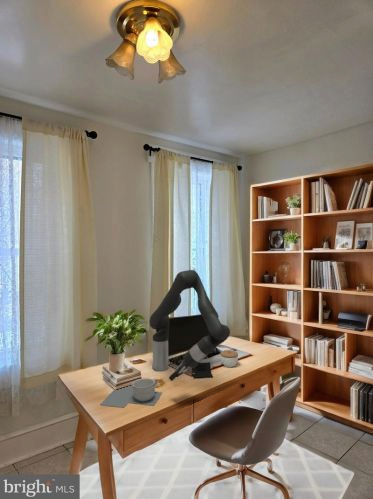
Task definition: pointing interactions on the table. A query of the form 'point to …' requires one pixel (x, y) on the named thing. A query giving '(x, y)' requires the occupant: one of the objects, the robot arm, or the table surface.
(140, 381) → the teacup
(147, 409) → the table surface
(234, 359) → the lidded jar
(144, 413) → the table surface
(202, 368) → the handheld gaming console
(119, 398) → the t mat
